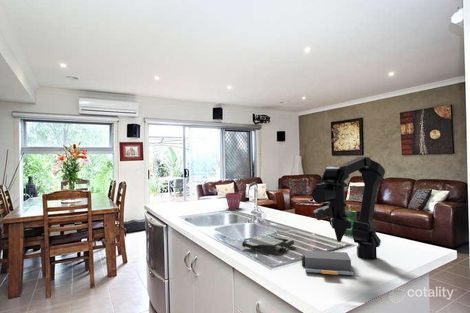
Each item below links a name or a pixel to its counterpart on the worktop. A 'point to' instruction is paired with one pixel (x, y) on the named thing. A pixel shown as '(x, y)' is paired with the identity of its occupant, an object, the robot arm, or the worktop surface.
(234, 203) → the plant pot
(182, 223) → the worktop surface
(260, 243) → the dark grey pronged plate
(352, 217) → the coffee box
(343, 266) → the cabinet housing
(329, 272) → the door
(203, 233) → the worktop surface
